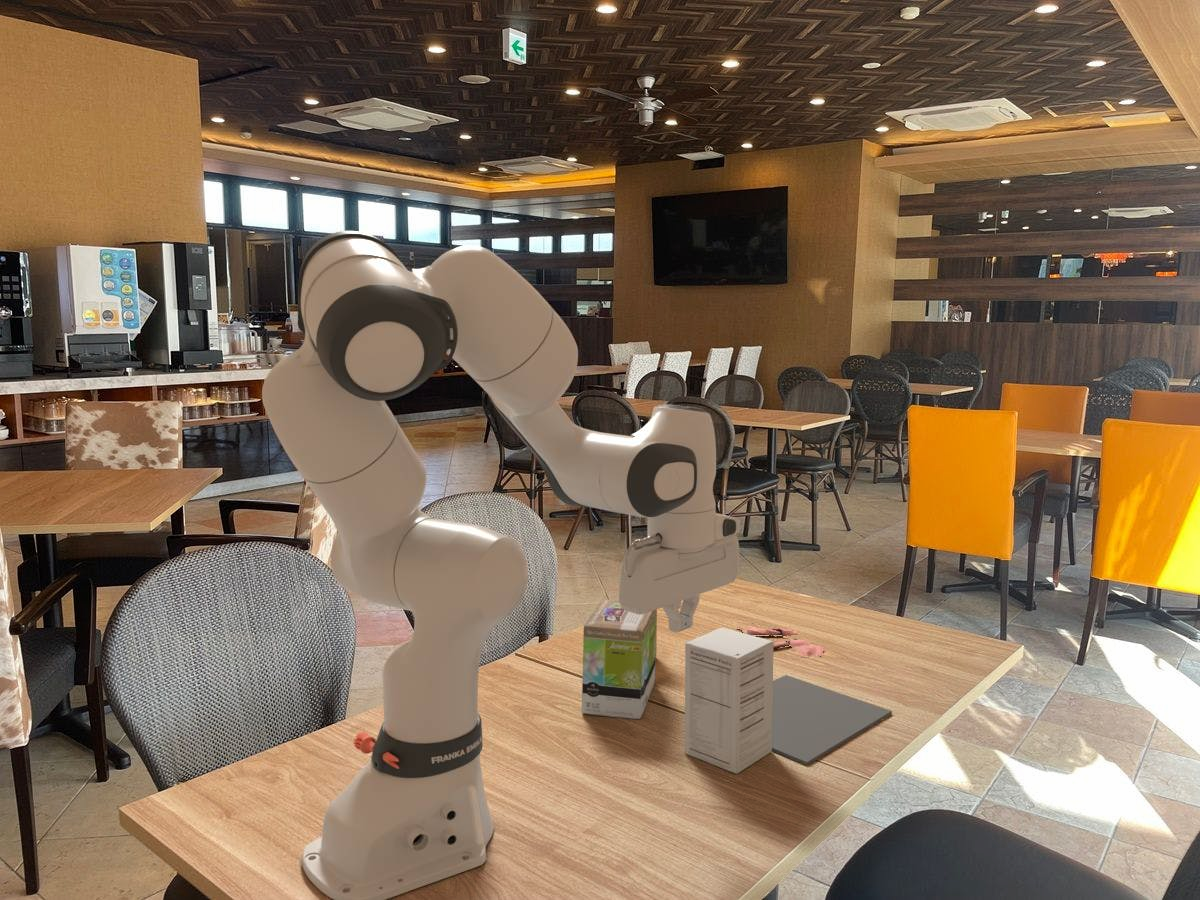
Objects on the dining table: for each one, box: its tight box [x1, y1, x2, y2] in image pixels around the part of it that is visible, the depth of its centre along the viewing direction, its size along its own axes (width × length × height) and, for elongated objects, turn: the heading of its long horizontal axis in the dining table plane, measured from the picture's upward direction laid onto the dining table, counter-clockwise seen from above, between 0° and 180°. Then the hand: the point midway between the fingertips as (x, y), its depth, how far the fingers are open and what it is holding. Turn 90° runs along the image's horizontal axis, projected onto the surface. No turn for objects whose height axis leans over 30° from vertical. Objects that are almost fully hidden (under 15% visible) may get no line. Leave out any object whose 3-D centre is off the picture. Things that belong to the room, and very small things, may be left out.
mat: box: [772, 674, 893, 766], centre depth 140 cm, size 24×20×1 cm
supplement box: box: [684, 627, 775, 775], centre depth 127 cm, size 10×9×17 cm
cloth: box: [738, 626, 825, 657], centre depth 174 cm, size 20×22×2 cm
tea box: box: [581, 598, 658, 720], centre depth 146 cm, size 15×10×15 cm
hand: (680, 629), depth 118 cm, fingers closed
